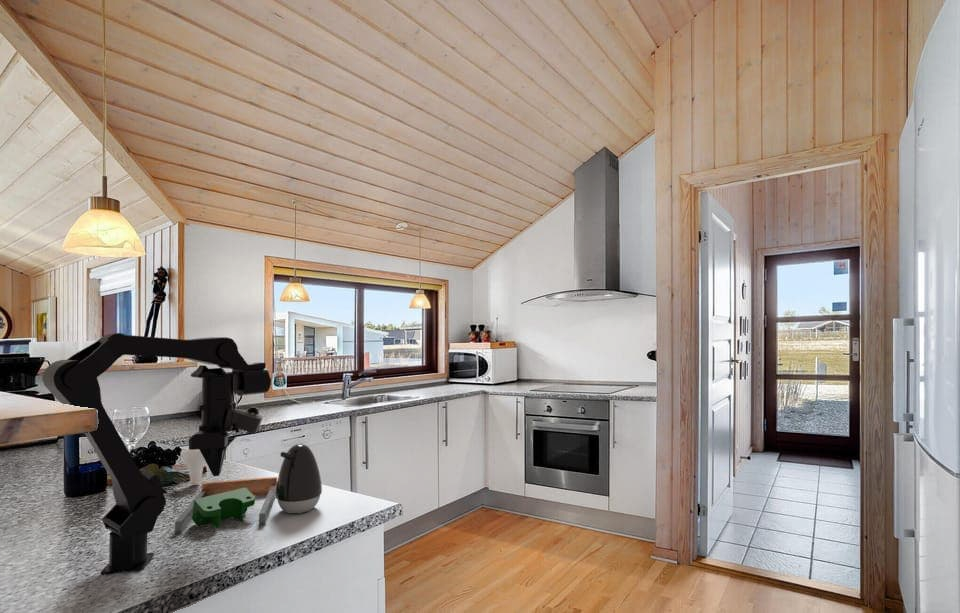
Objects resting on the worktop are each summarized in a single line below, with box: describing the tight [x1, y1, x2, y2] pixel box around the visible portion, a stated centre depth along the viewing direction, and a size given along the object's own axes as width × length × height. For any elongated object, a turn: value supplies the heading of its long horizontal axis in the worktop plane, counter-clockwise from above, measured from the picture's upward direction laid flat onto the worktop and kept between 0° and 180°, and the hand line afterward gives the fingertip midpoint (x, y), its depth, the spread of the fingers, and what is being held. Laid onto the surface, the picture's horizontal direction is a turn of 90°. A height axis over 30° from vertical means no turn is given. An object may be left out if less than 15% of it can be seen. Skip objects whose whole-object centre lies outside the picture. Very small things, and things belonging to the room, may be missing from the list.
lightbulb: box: [182, 446, 207, 486], centre depth 144 cm, size 6×6×11 cm
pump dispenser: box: [275, 443, 323, 515], centre depth 124 cm, size 10×10×15 cm
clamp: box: [191, 487, 256, 529], centre depth 117 cm, size 12×6×9 cm, turn 133°
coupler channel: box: [174, 476, 278, 535], centre depth 124 cm, size 24×17×4 cm
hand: (216, 475), depth 108 cm, fingers closed
